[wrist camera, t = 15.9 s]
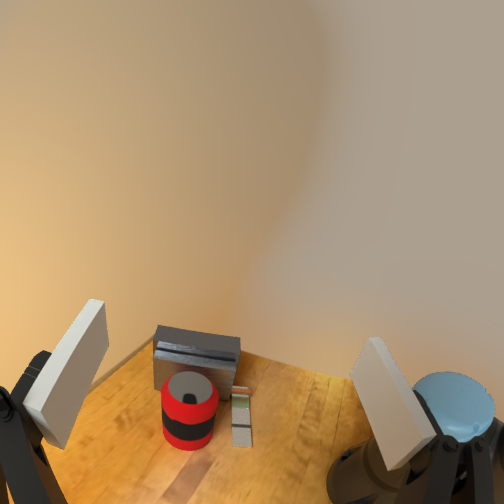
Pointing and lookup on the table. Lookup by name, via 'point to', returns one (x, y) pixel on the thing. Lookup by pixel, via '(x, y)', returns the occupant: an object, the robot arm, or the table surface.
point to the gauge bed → (218, 350)
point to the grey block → (197, 371)
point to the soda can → (188, 410)
